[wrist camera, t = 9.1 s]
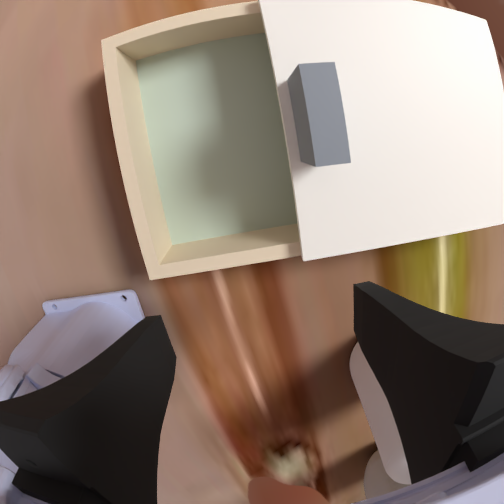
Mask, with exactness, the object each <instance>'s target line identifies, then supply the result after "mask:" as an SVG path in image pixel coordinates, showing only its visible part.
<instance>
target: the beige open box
mask: <svg viewBox="0 0 504 504" xmlns="http://www.w3.org/2000/svg"><path fill="white" fill-rule="evenodd" d="M101 43H102V54H103V64H104V73H105V81H106V88H107V96H108V103H109V109H110V115H111V121H112V127H113V133H114V138H115V144H116V149H117V154H118V159H119V164H120V169H121V173H122V178H123V182H124V187H125V191H126V195H127V199H128V203H129V207H130V211H131V215H132V219H133V223H134V227H135V231H136V234H137V238H138V241H139V245H140V249H141V252H142V255H143V259H144V262H145V266H146V269H147V272H148V275H149V279H150V280H154V279H161V278H167V277H174V276H180V275H186V274H193V273H199V272H205V271H211V270H217V269H224V268H230V267H236V266H242V265H248V264H254V263H260V262H266V261H272V260H278V259H284V258H290V257H296V256H301V247H300V239H299V231H298V223H297V216H296V208H295V201H294V194H293V187H292V180H291V173H290V167H289V160H288V154H287V147H286V141H285V135H284V129H283V123H282V117H281V112H280V106H279V100H278V95H277V90H276V84H275V79H274V74H273V69H272V64H271V59H270V54H269V49H268V44H267V39H266V34H265V30H264V25H263V21H262V16H261V12H260V7H259V3H258V1H253V2H245V3H237V4H231V5H224V6H219V7H213V8H208V9H203V10H198V11H194V12H189V13H185V14H181V15H177V16H173V17H169V18H165V19H162V20H158V21H155V22H152V23H148V24H145V25H142V26H139V27H136V28H133V29H130V30H127V31H124V32H122V33H119V34H116V35H114V36H111V37H108V38H106V39H103V40H101Z"/></svg>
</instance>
